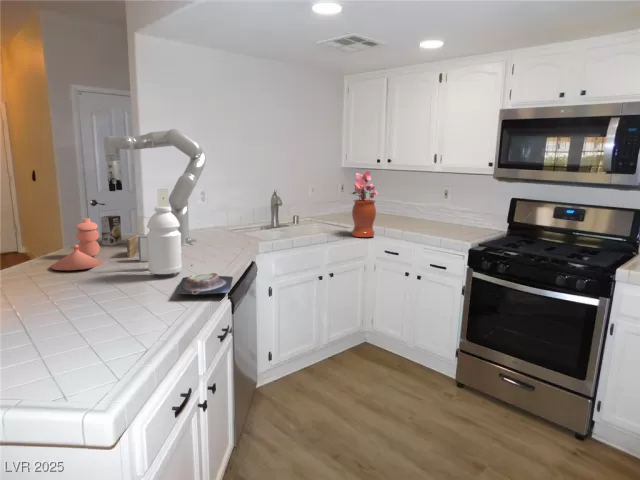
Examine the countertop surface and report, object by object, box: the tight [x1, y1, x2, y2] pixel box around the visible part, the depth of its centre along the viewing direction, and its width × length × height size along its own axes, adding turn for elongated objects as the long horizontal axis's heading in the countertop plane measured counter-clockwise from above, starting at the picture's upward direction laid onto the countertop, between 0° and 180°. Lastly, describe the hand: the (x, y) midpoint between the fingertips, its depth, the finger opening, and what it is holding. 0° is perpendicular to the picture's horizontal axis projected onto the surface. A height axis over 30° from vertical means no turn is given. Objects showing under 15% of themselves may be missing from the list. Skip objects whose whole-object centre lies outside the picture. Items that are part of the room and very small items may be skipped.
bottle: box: [146, 205, 183, 275], centre depth 184 cm, size 14×14×28 cm
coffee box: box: [100, 215, 123, 246], centre depth 242 cm, size 9×6×16 cm
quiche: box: [173, 272, 234, 295], centre depth 166 cm, size 21×20×4 cm
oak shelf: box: [126, 234, 139, 259], centre depth 217 cm, size 14×15×9 cm
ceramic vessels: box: [49, 217, 104, 271], centre depth 199 cm, size 35×21×19 cm, turn 14°
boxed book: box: [138, 234, 148, 263], centre depth 204 cm, size 8×5×12 cm, turn 96°
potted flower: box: [349, 170, 379, 238], centre depth 292 cm, size 19×25×45 cm
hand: (116, 190), depth 235 cm, fingers open, 9 cm apart
